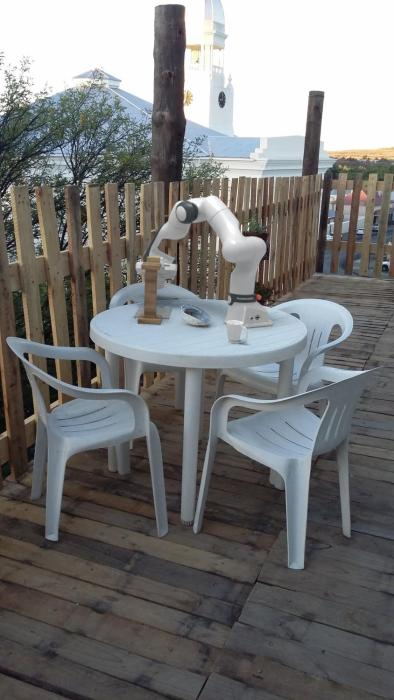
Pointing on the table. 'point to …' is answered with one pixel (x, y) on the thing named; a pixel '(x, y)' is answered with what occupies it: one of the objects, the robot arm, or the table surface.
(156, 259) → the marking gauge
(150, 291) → the walnut stand
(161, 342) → the table surface
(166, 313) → the rubber mat
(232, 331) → the cup
